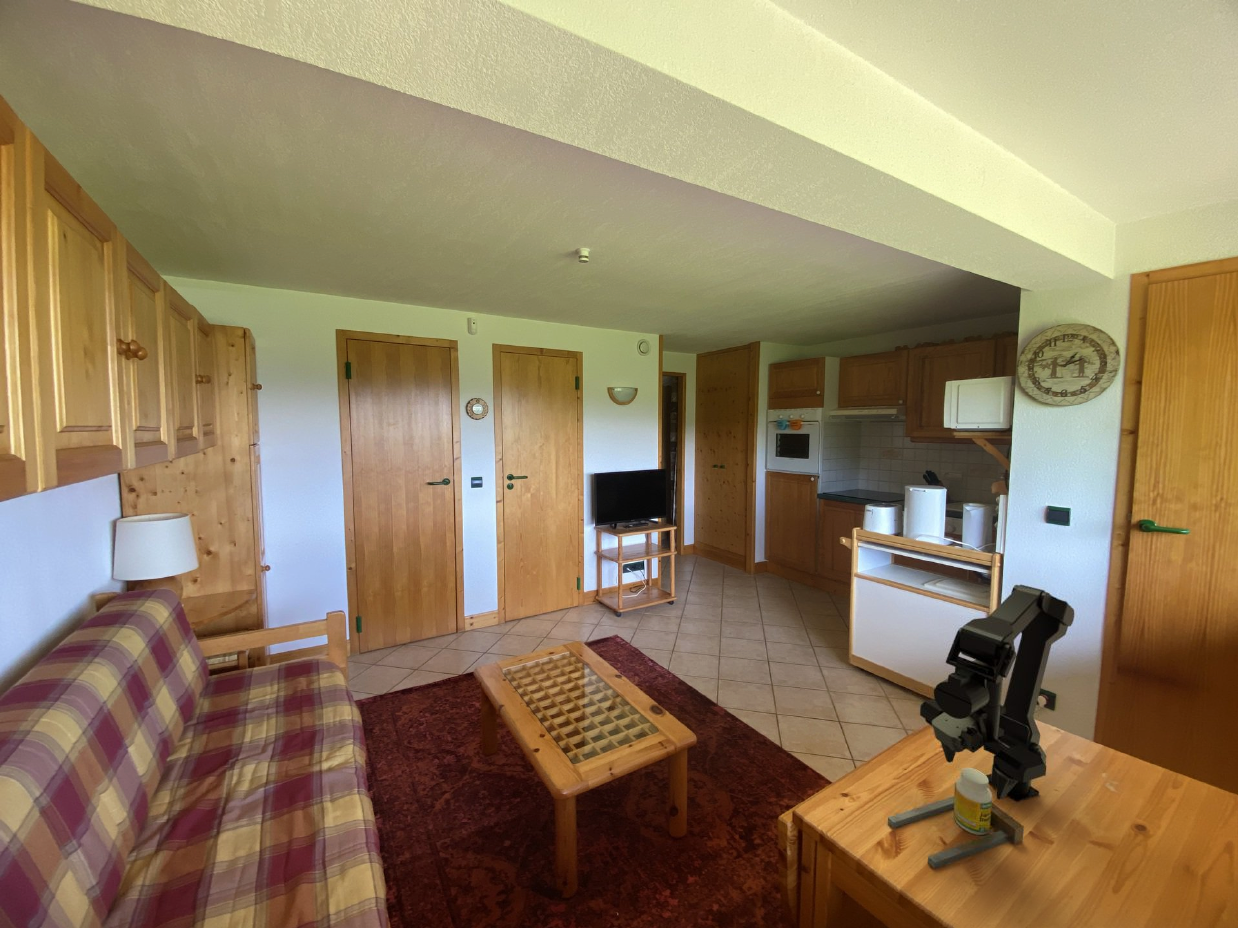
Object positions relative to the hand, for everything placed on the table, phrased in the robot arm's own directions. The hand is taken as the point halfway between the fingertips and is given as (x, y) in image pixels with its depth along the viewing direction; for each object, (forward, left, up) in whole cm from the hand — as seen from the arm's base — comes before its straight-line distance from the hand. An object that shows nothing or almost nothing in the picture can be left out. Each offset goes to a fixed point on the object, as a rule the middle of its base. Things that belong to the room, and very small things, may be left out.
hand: (973, 779), depth 88 cm
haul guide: (+5, 0, -9) cm, 10 cm away
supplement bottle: (0, 0, -9) cm, 9 cm away
